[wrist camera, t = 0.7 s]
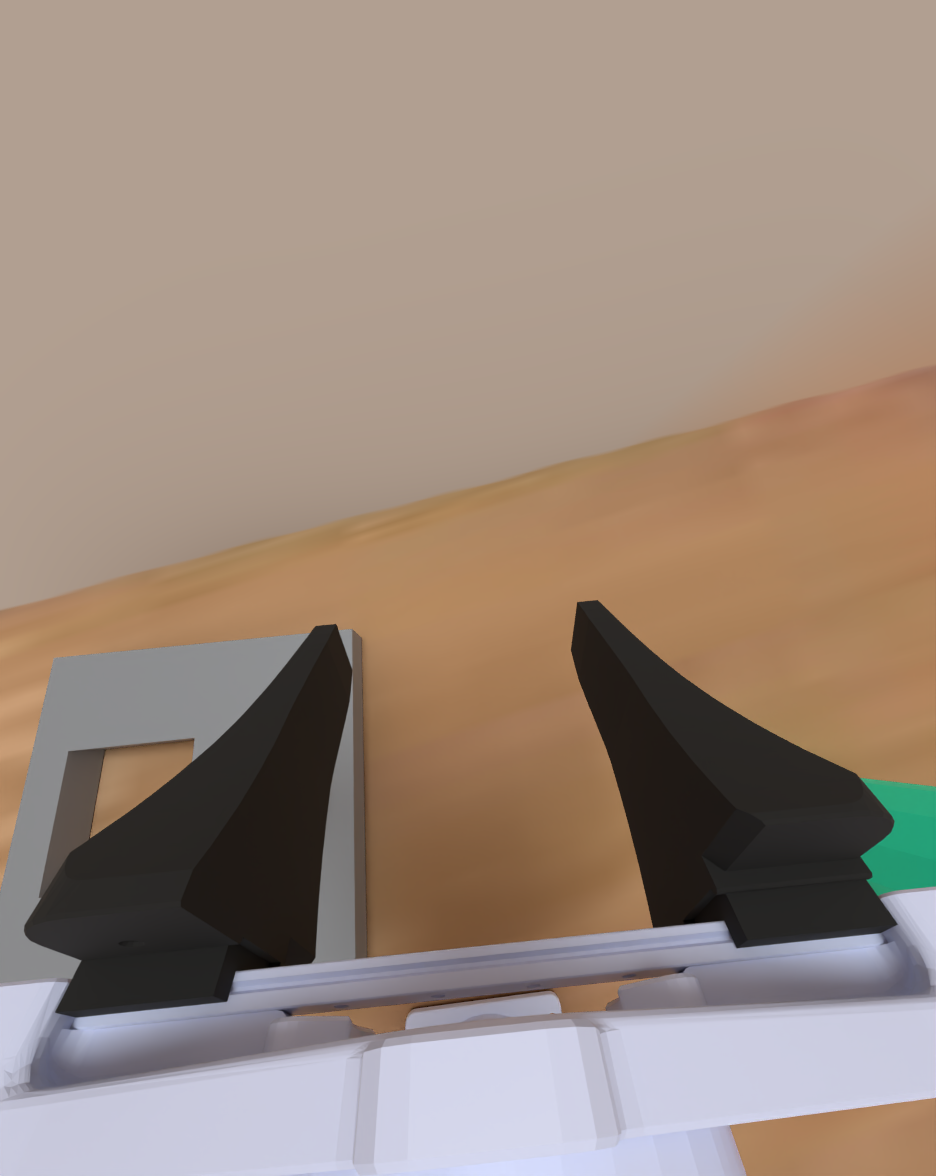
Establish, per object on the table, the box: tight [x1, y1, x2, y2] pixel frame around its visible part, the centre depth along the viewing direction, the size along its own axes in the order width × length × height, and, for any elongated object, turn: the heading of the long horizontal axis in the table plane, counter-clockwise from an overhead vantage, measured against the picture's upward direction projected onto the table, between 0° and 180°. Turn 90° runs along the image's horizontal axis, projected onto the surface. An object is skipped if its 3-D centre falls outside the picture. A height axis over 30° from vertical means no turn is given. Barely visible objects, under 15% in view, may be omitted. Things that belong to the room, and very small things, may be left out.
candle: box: [860, 778, 936, 896], centre depth 19 cm, size 6×6×12 cm
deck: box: [0, 629, 367, 983], centre depth 24 cm, size 18×18×2 cm
